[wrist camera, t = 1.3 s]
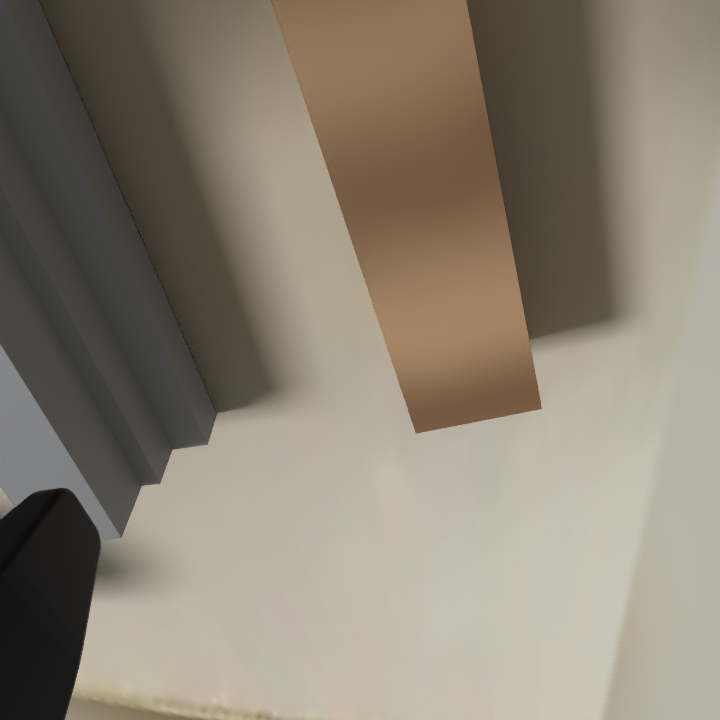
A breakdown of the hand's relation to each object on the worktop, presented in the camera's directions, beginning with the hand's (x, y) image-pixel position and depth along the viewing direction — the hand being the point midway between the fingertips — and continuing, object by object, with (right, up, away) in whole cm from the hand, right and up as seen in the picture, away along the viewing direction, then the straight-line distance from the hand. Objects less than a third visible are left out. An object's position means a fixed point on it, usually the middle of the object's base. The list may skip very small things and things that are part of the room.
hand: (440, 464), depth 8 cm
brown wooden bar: (0, +7, +10) cm, 12 cm away
